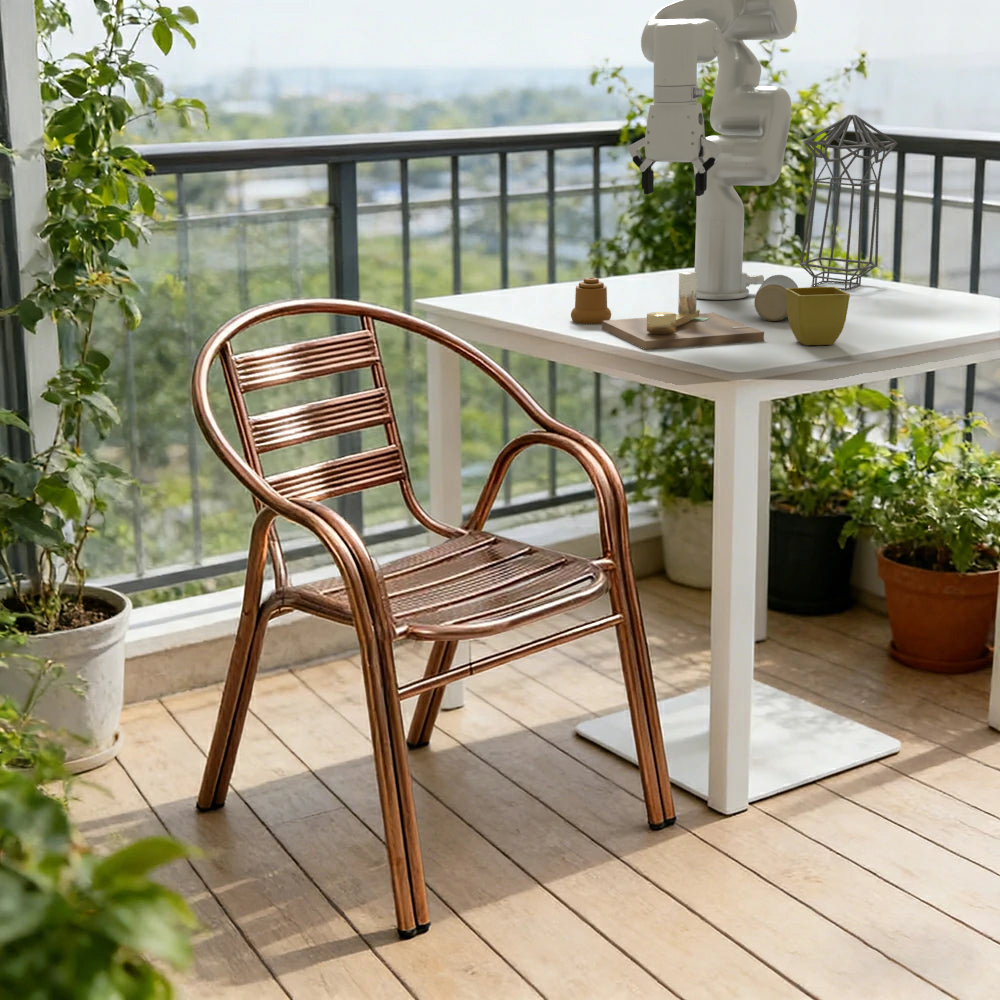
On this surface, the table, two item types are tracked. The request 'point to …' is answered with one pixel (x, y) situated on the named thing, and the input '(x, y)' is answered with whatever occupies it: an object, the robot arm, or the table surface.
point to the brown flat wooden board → (684, 332)
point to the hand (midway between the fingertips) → (673, 194)
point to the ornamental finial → (591, 302)
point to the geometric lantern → (836, 132)
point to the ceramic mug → (773, 297)
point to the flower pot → (817, 314)
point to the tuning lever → (686, 307)
